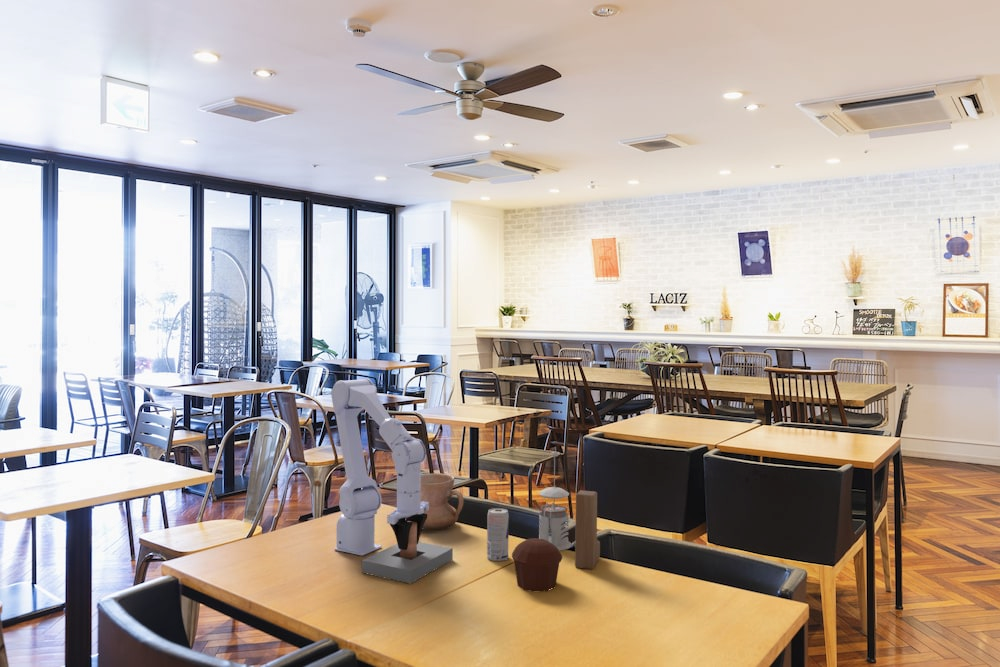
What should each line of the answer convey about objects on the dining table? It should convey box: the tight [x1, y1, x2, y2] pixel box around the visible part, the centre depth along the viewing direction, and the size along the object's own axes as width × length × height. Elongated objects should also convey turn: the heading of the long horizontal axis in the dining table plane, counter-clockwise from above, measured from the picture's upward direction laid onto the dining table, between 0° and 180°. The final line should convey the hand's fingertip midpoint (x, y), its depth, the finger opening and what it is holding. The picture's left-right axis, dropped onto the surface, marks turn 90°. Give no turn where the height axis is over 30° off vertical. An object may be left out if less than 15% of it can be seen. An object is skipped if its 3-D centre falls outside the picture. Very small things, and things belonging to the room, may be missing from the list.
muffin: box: [511, 537, 563, 592], centre depth 162 cm, size 12×11×10 cm
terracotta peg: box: [400, 521, 417, 560], centre depth 173 cm, size 4×4×9 cm
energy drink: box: [486, 507, 510, 562], centre depth 179 cm, size 5×5×12 cm
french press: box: [538, 451, 572, 551], centre depth 189 cm, size 10×12×25 cm
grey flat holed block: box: [361, 541, 454, 584], centre depth 173 cm, size 14×18×3 cm
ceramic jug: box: [421, 473, 465, 531], centre depth 205 cm, size 18×14×14 cm
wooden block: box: [574, 489, 601, 570], centre depth 176 cm, size 9×4×18 cm, turn 161°
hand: (408, 546), depth 173 cm, fingers closed on terracotta peg, 4 cm apart
